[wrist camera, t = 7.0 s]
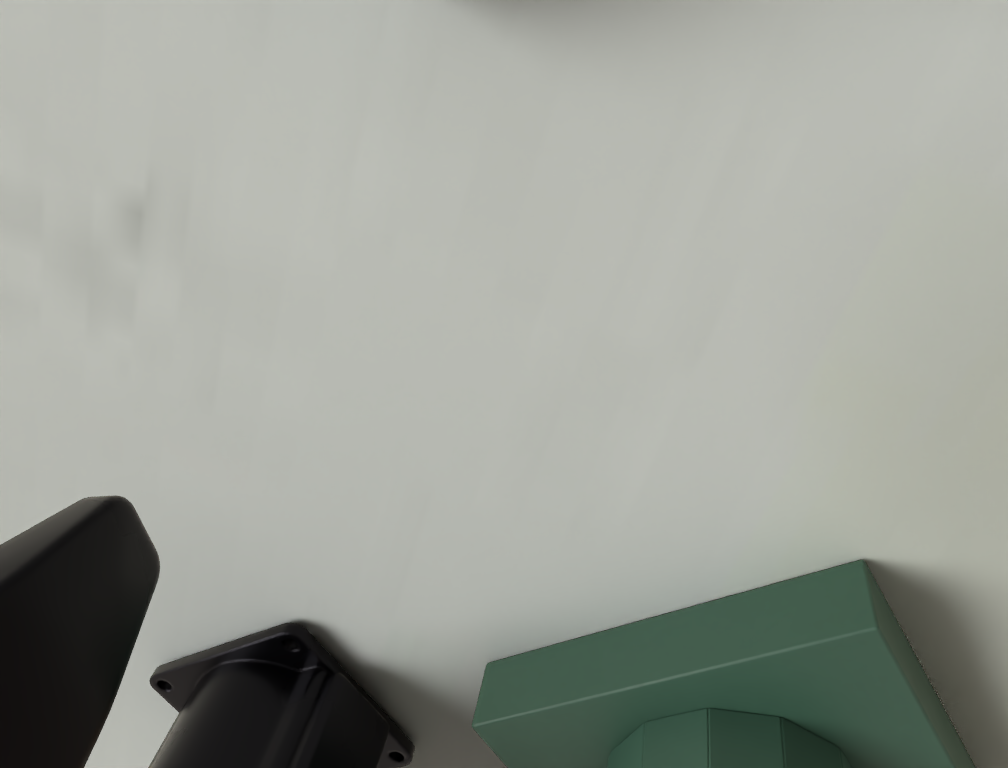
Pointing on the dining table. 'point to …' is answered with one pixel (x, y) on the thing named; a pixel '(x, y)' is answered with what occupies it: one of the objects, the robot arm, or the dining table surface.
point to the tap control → (728, 688)
